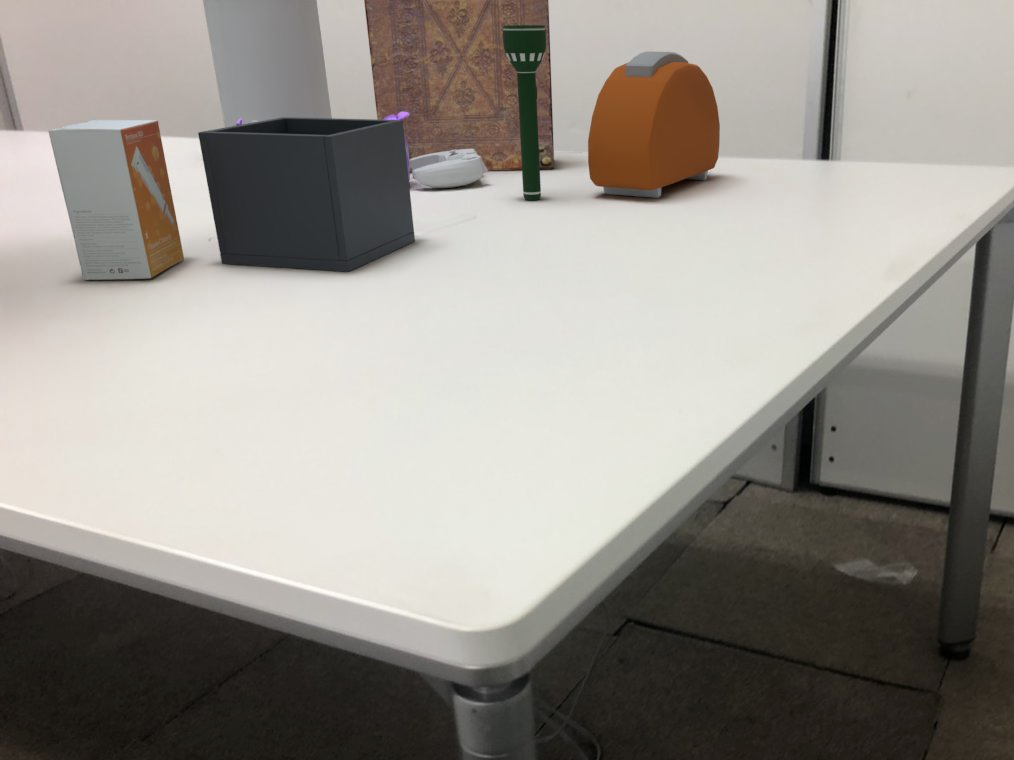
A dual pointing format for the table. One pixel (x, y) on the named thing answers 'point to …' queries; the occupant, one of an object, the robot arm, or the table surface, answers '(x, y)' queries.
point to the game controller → (448, 168)
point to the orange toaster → (653, 126)
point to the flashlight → (527, 96)
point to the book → (457, 76)
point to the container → (268, 59)
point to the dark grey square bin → (309, 191)
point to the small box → (118, 198)
